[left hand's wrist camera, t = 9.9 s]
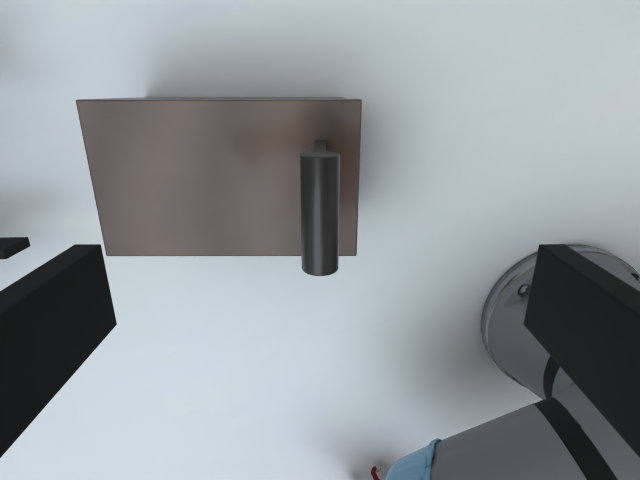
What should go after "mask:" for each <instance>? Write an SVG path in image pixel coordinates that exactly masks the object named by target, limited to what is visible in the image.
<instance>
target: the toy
mask: <svg viewBox="0 0 640 480" xmlns="http://www.w3.org/2000/svg"><path fill="white" fill-rule="evenodd" d="M379 469H381V465H380V467H377V466H375V467H373V468H372V470H371V474H372V476H373V478H374V480H380V479H379V478H378V476H377V474H376V472H378V471H379Z"/></svg>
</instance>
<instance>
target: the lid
mask: <svg viewBox="0 0 640 480" xmlns="http://www.w3.org/2000/svg"><path fill="white" fill-rule="evenodd" d="M76 104H77V109H78V114H79V119H80V124H81V129H82V134H83V139H84V144H85V149H86V154H87V159H88V164H89V170H90V175H91V180H92V185H93V190H94V195H95V200H96V205H97V210H98V215H99V220H100V225H101V230H102V235H103V240H104V245H105V250H106V255H107V256H302V270H303V271H304V272H305V273H307V274H310V275H314V276H326V275H330V274H333V273H335V272H336V271H337V270H338V256H356V253H357V223H358V194H359V164H360V134H361V104H362V101H361V100H359V99H85V100H76Z"/></svg>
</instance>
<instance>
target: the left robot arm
mask: <svg viewBox="0 0 640 480" xmlns="http://www.w3.org/2000/svg"><path fill="white" fill-rule="evenodd" d="M116 325H117V323H116V318H115V313H114V308H113V303H112V298H111V293H110V289H109V284H108V279H107V274H106V269H105V264H104V259H103V254H102V249H101V245H74V246H72V247H70V248H69V249H67V250H66V251H64V252H62V253H61V254H59V255H58V256H56V257H54V258H53V259H51V260H50V261H48V262H46V263H45V264H43V265H42V266H40V267H38V268H37V269H35V270H34V271H32V272H30V273H29V274H27V275H26V276H24V277H22V278H21V279H19V280H18V281H16V282H14V283H13V284H11V285H10V286H8V287H7V288H5V289H3V290H2V291H0V458H1V457H2V455H3V454H4V453H5V452H6V451H7V450H8V449H9V447H10V446H11V445H12V444H13V443H14V442H15V440H16V439H17V438H18V437H19V436H20V435H21V434H22V432H23V431H24V430H25V429H26V428H27V427H28V426H29V424H30V423H31V422H32V421H33V420H34V419H35V418H36V416H37V415H38V414H39V413H40V412H41V411H42V409H43V408H44V407H45V406H46V405H47V404H48V403H49V401H50V400H51V399H52V398H53V397H54V396H55V395H56V393H57V392H58V391H59V390H60V389H61V388H62V387H63V385H64V384H65V383H66V382H67V381H68V380H69V379H70V377H71V376H72V375H73V374H74V373H75V372H76V370H77V369H78V368H79V367H80V366H81V365H82V364H83V362H84V361H85V360H86V359H87V358H88V357H89V356H90V354H91V353H92V352H93V351H94V350H95V349H96V348H97V346H98V345H99V344H100V343H101V342H102V341H103V339H104V338H105V337H106V336H107V335H108V334H109V333H110V331H111V330H112V329H113V328H114V327H115V326H116ZM481 331H482V337H483V341H484V344H485V346H486V348H487V350H488V352H489V353H490V355H491V357H492V358H493V360H494V361H495V363H496V364H497V365H498V367H499V368H500V369H501V370H502V371H503V372H504V373H505V374H506V375H507V376H509V377H510V378H511V379H513V380H514V381H516V382H517V383H519V384H521V385H522V386H524V387H527V388H528V389H529V390H531V391H532V392H533V393H535V394H536V395H537V396H539V397H540V398H541V399H543V400H542V401H540V402H537V403H535V404H531V405H528V406H526V407H524V408H521V409H519V410H516V411H514V412H511V413H509V414H506V415H504V416H501V417H499V418H496V419H494V420H491V421H489V422H486V423H484V424H481V425H479V426H476V427H474V428H471V429H469V430H467V431H464V432H462V433H459V434H457V435H454V436H452V437H449V438H447V439H444V440H441V439H438V438H437V439H435V440H433V441H431V443H430V444H429V445H428V446H426V447H424V448H422V449H420V450H418V451H416V452H414V453H412V454H409V455H407V456H405V457H403V458H401V459H399V460H398V461H396V462H395V463H394V464H393V465H392V466H391V468H390V469H389V471H388V473H387V475H386V478H385V480H640V275H639V274H638V273H637V271H636V270H635V269H634V268H633V267H631V266H630V265H629V264H627V263H626V262H624V261H623V260H621V259H619V258H617V257H616V256H614V255H612V254H610V253H608V252H606V251H604V250H601V249H598V248H595V247H590V246H584V245H539V249H538V253H536V254H533V255H531V256H529V257H528V258H526V259H524V260H522V261H521V262H519V263H518V264H516V265H515V266H514V267H512V268H511V269H510V270H509V271H508V272H507V273H506V274H505V275H504V276H503V277H502V278H501V279H500V280H499V281H498V282H497V284H496V285H495V286H494V288H493V289H492V291H491V293H490V295H489V296H488V298H487V301H486V303H485V306H484V309H483V313H482V320H481Z"/></svg>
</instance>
